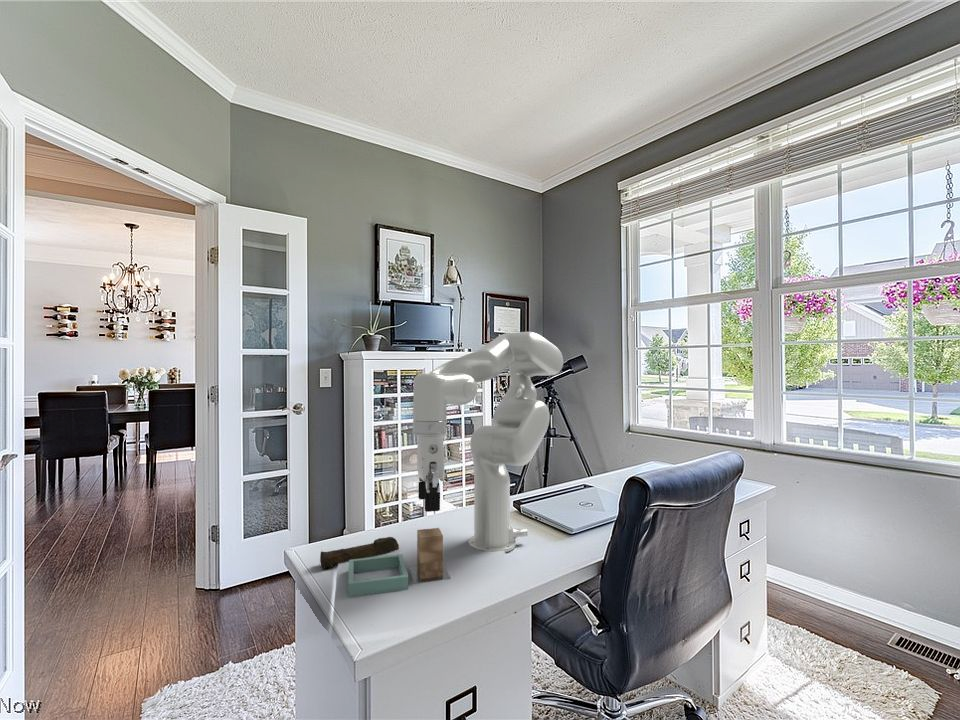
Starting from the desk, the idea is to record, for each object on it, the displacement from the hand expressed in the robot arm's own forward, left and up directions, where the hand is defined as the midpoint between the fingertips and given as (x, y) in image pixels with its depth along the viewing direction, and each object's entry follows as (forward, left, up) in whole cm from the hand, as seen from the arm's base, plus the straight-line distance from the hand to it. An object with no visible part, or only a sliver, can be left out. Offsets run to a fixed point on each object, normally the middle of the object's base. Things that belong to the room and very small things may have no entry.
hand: (428, 504), depth 101 cm
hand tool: (+15, -14, -17) cm, 27 cm away
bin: (+11, 0, -16) cm, 20 cm away
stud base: (0, 0, -16) cm, 16 cm away
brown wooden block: (0, 0, -15) cm, 15 cm away
